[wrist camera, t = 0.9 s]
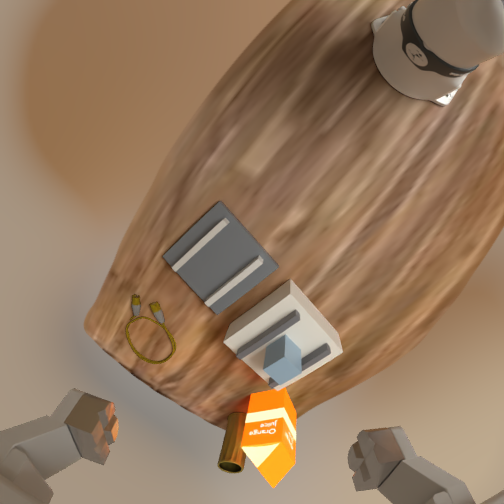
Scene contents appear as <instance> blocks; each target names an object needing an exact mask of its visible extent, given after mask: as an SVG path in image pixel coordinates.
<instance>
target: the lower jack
mask: <svg viewBox="0 0 504 504" xmlns="http://www.w3.org/2000/svg"><path fill="white" fill-rule="evenodd" d="M162 257H163V258H164V259H165V260H166V261H167V262H168V263H169V264H170V266H171V267H172V269H173V270H174V271H175V272H177V273H178V274H179V275H180V276H181V278H182V279H183V280H184V281H185V282H186V283H187V284H188V285H189V286H190V287H191V288H192V289H193V290H194V291H195V292H196V294H197V295H198V296H199V297H200V298H201V299H202V300H203V301H204V302H205V304H206V305H207V306H208V307H210V308H211V309H212V310H213V311H214V312H215V313H216V314H217V315H218V314H219V313H221V312H222V311H223V310H225V309H226V308H227V307H229V306H230V305H231V304H232V303H234V302H235V301H236V300H238V299H239V298H240V297H242V296H243V295H244V294H245V293H247V292H248V291H249V290H251V289H252V288H253V287H254V286H256V285H257V284H258V283H260V282H261V281H262V280H263V279H265V278H266V277H267V276H268V275H270V274H271V273H272V272H274V271H275V270H276V269H277V268H279V265H278V264H277V263H276V262H275V261H274V260H273V258H272V257H271V256H270V255H269V254H268V253H267V252H266V251H265V249H264V248H263V247H262V246H261V245H260V244H259V243H258V242H257V240H256V239H255V238H254V237H253V236H252V235H251V234H250V233H249V231H248V230H247V229H246V228H245V227H244V226H243V225H242V224H241V223H240V221H239V220H238V219H237V218H236V217H235V216H234V215H233V214H232V213H231V211H230V210H229V209H228V208H227V207H226V206H225V205H224V204H223V203H222V201H219V202H218V203H217V204H216V205H215V206H214V207H213V208H212V209H211V210H210V211H209V212H208V213H207V214H206V215H204V216H203V217H202V218H201V219H200V220H199V221H198V222H197V223H196V224H195V225H194V226H193V227H192V228H191V229H190V230H189V231H188V232H187V233H186V234H185V235H184V236H183V237H182V238H181V239H180V240H179V241H178V242H177V243H176V244H175V245H174V246H172V247H171V248H170V249H169V250H168V251H167V252H166V253H165V254H164V255H163V256H162Z"/></svg>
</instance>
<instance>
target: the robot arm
mask: <svg viewBox="0 0 504 504" xmlns="http://www.w3.org/2000/svg"><path fill="white" fill-rule="evenodd" d="M398 10H399V11H396V10H394V11H393V12H392V13H391V14H390V15H389V16H385V17H382V18H378V19H375V20H374V21H373V22H372V23H371V27H372V30H373V33H374V43H373V56H374V60H375V63H376V65H377V67H378V69H379V71H380V73H381V74H382V76H383V77H384V78H385V79H386V81H387V82H388V83H389V84H390V85H391V86H393V87H394V88H395V89H396V90H398V91H399V92H401V93H403V94H404V95H406V96H409V97H411V98H415V99H421V100H430V101H432V102H434V103H436V104H438V105H440V106H446V105H448V104H449V102H450V101H451V99H452V98H453V96H454V95H455V93H456V92H457V90H458V89H459V88H460V87H461V84H462V82H463V81H464V79H465V78H466V76H467V74H469V73H471V72H472V71H473V70H475V69H476V68H477V67H478V66H479V64H481V63H483V62H485V61H487V60H489V59H492V58H494V57H496V56H499V55H501V54H502V53H503V52H504V7H503V4H502V2H501V0H415V1H414V2H412V3H411V4H409V5H408V7H407V8H405V7H404V6H402V7H400V8H399V9H398ZM445 95H447V97H446V96H445ZM114 412H115V406H114V403H113V402H110V401H107V400H104V399H101V398H98V397H96V396H93V395H91V394H88V393H85V392H82V391H80V390H77V389H75V388H74V389H71V390H70V391H69V392H68V394H67V395H66V396H65V398H64V399H63V400H62V402H61V403H60V404H59V406H58V407H57V408H56V410H55V411H54V412H53V414H52V415H51V416H50V417H49V416H44V417H41V418H38V419H36V420H33V421H30V422H27V423H24V424H21V425H18V426H15V427H12V428H9V429H6V430H3V431H0V504H49V502H50V500H51V498H52V496H53V491H52V489H51V488H50V487H49V486H48V484H47V483H46V482H45V479H47V478H49V477H51V476H52V475H54V474H56V473H58V472H59V471H61V470H63V469H65V468H66V467H68V466H70V465H71V464H73V463H75V462H76V461H78V460H80V459H81V457H82V458H85V459H88V460H90V461H93V462H96V463H99V464H102V465H104V463H105V461H106V459H107V457H108V455H109V452H110V450H109V447H108V445H110V444H112V443H114V442H115V439H116V437H117V433H118V419H117V418H116V416H115V415H114ZM357 439H358V441H357V442H356V443H354V444H353V445H352V446H351V448H350V450H349V453H348V464H349V468H350V469H352V470H353V471H354V472H355V473H354V475H353V477H352V478H353V482H354V485H355V489H356V491H363V490H370V489H376V488H378V490H379V491H380V492H381V493H382V494H383V495H384V496H385V497H386V498H387V499H388V500H389V501H391V503H393V504H475V502H474V500H473V498H472V496H471V494H470V492H469V490H468V488H467V486H466V485H465V483H464V482H463V481H461V480H459V479H458V478H456V477H454V476H452V475H451V474H449V473H447V472H446V471H444V470H442V469H441V468H439V467H437V466H435V465H434V464H432V463H431V462H429V461H427V460H426V459H424V458H422V457H421V456H420V457H417V455H416V453H415V451H414V449H413V447H412V445H411V443H410V441H409V439H408V437H407V435H406V434H405V432H404V430H403V428H402V427H400V426H397V427H389V428H379V429H370V430H362V431H361V432H360V433H359V434H358V436H357ZM481 504H504V490H502V491H501V492H499V493H498V494H496V495H494V496H493V497H491V498H489V499H488V500H486V501H484V502H483V503H481Z"/></svg>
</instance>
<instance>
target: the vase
mask: <svg viewBox="0 0 504 504" xmlns="http://www.w3.org/2000/svg"><path fill="white" fill-rule="evenodd" d="M246 417H247V414H245V413H240V412H237V413H232V414H230V415H229V416H228V423H227V429H226V433H225V437H224V441H223V445H222V450H221V453H220V457H219V461H218V467H219V468H220V469H221V470H222V471H225V472H228V473H239V472H242V470H243V469H244V463H245V458H246V453H245V452H244V450H243V449H242V447H241V443H242V438H243V433H244V428H245V422H246Z"/></svg>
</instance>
